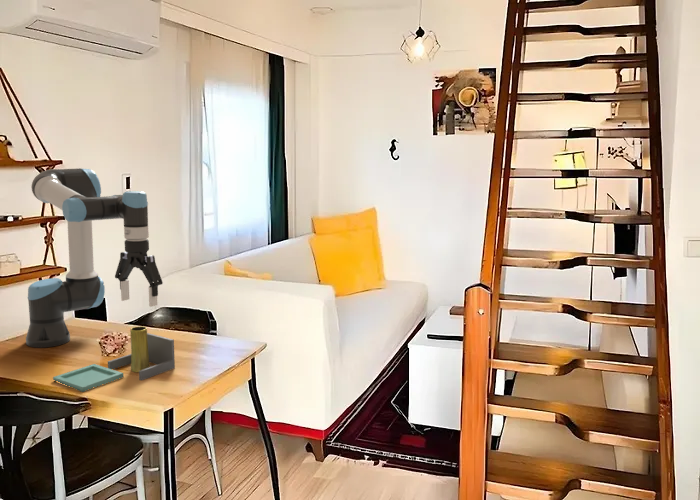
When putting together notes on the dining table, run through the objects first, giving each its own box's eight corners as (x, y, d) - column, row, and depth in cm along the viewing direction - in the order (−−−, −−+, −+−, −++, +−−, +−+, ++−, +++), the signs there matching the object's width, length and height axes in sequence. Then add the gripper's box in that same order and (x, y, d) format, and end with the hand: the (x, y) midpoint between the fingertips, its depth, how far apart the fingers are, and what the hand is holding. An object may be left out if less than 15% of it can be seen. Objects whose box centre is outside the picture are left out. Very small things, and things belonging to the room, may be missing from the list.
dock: (108, 370, 218) (106, 341, 217) (141, 358, 230) (140, 331, 228) (141, 380, 209) (140, 350, 208) (174, 368, 221) (173, 339, 219)
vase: (134, 366, 222) (132, 325, 220) (152, 366, 222) (150, 326, 220) (128, 372, 216) (126, 330, 214) (146, 372, 216) (144, 331, 214)
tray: (53, 381, 207) (53, 377, 207) (94, 368, 220) (94, 363, 220) (82, 391, 199) (82, 387, 199) (123, 377, 212) (123, 373, 212)
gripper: (101, 237, 216) (105, 299, 219) (154, 244, 203) (156, 310, 206) (120, 234, 222) (123, 295, 226) (172, 241, 209) (174, 305, 213)
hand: (139, 302), depth 216 cm, fingers open, 13 cm apart
